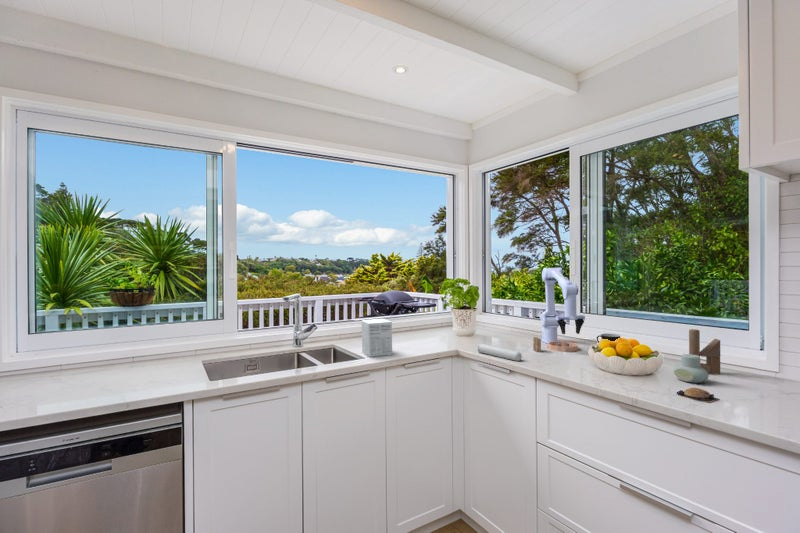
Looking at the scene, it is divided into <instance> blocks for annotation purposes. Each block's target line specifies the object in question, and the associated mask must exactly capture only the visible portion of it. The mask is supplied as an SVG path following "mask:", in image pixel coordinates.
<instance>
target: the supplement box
mask: <svg viewBox="0 0 800 533" xmlns="http://www.w3.org/2000/svg"><path fill="white" fill-rule="evenodd" d="M361 349H362V353H363V354H365V355H366V356H367V357H368V358H372V357H383V356H391V355H393V321H391V320H388V319H385V318H374V319H363V320H361Z"/></svg>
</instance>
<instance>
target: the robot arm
mask: <svg viewBox="0 0 800 533" xmlns="http://www.w3.org/2000/svg"><path fill="white" fill-rule="evenodd" d="M541 279H542V282H543V283H544V285H545V287H544V288H545V291H544V292H545V310H544V311H543V312H542V313H541V316H540V325H541V326H542V328H541V342H543V343H545V344H548V342H552V341H558V328H560V331H561V334H562V335H566V326H567V322H566V321H571V320H573V321H574V323H575V333H576V334H577V335H580V333H581V329H582V327H583V325H584V323H585V320H586V316H585V315H581V314H580V315H578V314H577V295H578V294H579V286H578V285H577V283H572V282H571V281H570V279H568V277H566V276H564V274H563V269H562V268H561V267H543V269H542V270H541ZM555 283H557V285H558V286H559V288H561V291H562V298H563V299H564V300H563V301H564V304H563V306H564V312H563V313H564V315H560V313H559V312H558V311H556V305H555V304H556V303H555V302H556V300H555V299H556V298H555Z"/></svg>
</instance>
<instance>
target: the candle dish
mask: <svg viewBox="0 0 800 533" xmlns="http://www.w3.org/2000/svg"><path fill="white" fill-rule="evenodd" d="M547 349H548V350H550V351H555V352H564V353H569V352H571V353H574V352H578V350H579V344H578V343H576V342H570V341H563V340H562V341H561V340H557V341H552V342H548V343H547Z"/></svg>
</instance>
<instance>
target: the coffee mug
mask: <svg viewBox="0 0 800 533" xmlns="http://www.w3.org/2000/svg"><path fill="white" fill-rule="evenodd" d="M599 337H601V340H602V339H608V340H610V341H615V340H616V339H618V338H620V339H621V334H616V333H601V334H600V335H597V336H596V341H597V342H598V344H599V342H600V341H599Z"/></svg>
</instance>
